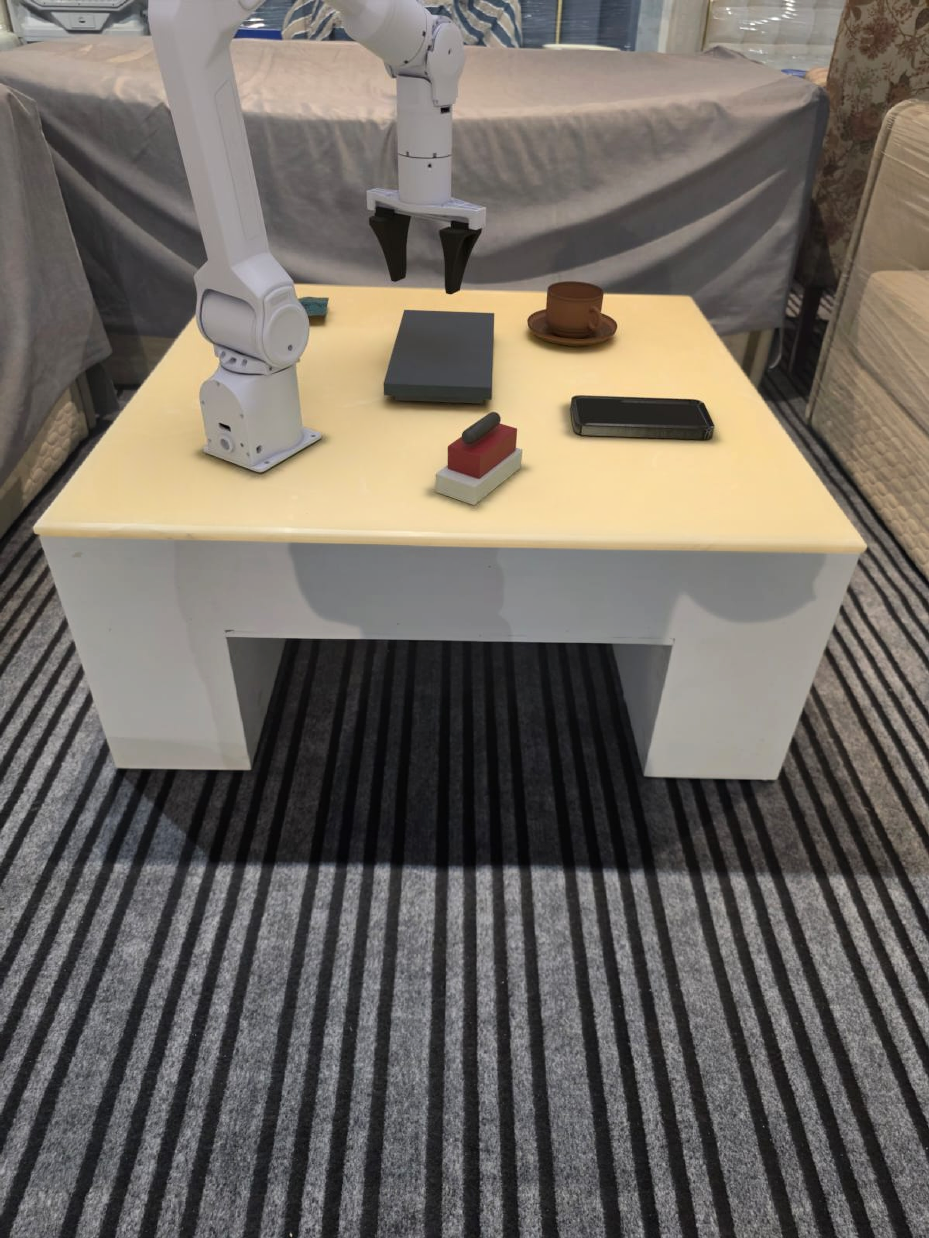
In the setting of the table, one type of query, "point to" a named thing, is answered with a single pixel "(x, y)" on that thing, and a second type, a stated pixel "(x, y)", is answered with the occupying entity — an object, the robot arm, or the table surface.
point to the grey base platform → (442, 357)
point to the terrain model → (314, 305)
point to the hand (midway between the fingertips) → (425, 285)
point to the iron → (479, 460)
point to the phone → (641, 417)
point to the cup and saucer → (573, 315)
